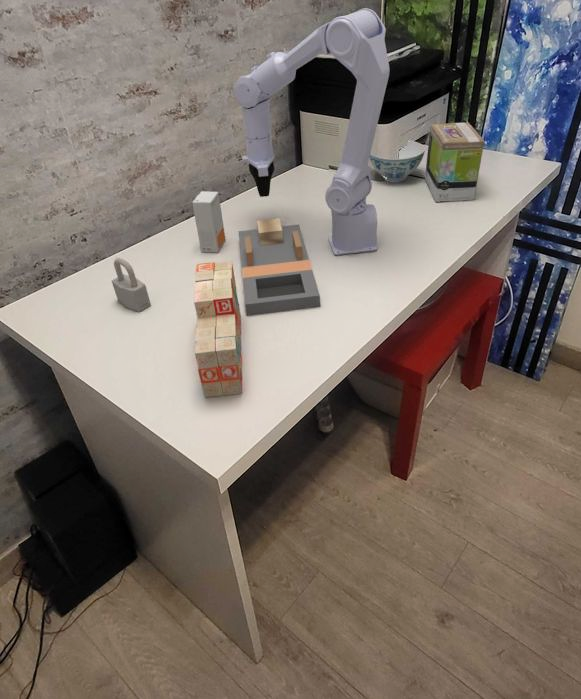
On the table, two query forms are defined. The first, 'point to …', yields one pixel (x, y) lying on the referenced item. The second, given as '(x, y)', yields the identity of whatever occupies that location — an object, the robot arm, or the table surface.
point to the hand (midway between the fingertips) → (264, 195)
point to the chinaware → (400, 162)
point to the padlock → (129, 287)
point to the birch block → (270, 231)
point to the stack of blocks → (218, 329)
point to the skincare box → (209, 221)
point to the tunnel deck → (277, 273)
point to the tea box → (453, 161)
